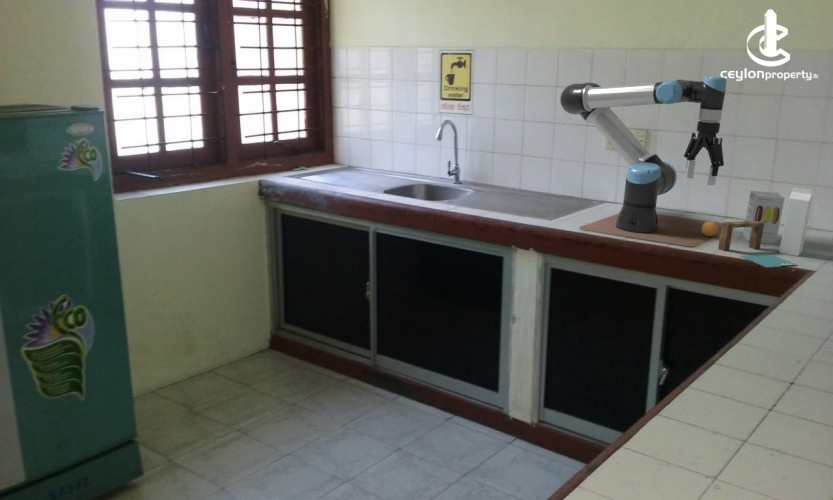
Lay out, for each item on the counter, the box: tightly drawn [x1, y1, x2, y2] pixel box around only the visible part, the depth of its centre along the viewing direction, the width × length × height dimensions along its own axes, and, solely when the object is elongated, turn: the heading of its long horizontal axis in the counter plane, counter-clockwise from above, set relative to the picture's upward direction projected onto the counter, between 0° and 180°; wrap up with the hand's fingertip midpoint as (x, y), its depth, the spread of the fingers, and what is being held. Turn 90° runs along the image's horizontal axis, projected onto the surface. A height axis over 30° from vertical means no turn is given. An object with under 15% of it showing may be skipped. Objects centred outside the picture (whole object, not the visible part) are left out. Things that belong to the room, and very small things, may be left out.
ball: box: [700, 220, 719, 237], centre depth 267 cm, size 6×6×6 cm
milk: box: [778, 187, 813, 257], centre depth 248 cm, size 6×6×22 cm
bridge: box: [717, 220, 764, 252], centre depth 252 cm, size 14×3×9 cm, turn 107°
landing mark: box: [740, 253, 797, 268], centre depth 241 cm, size 12×12×1 cm
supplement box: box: [742, 190, 785, 245], centre depth 264 cm, size 10×9×17 cm
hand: (699, 181), depth 271 cm, fingers open, 12 cm apart
